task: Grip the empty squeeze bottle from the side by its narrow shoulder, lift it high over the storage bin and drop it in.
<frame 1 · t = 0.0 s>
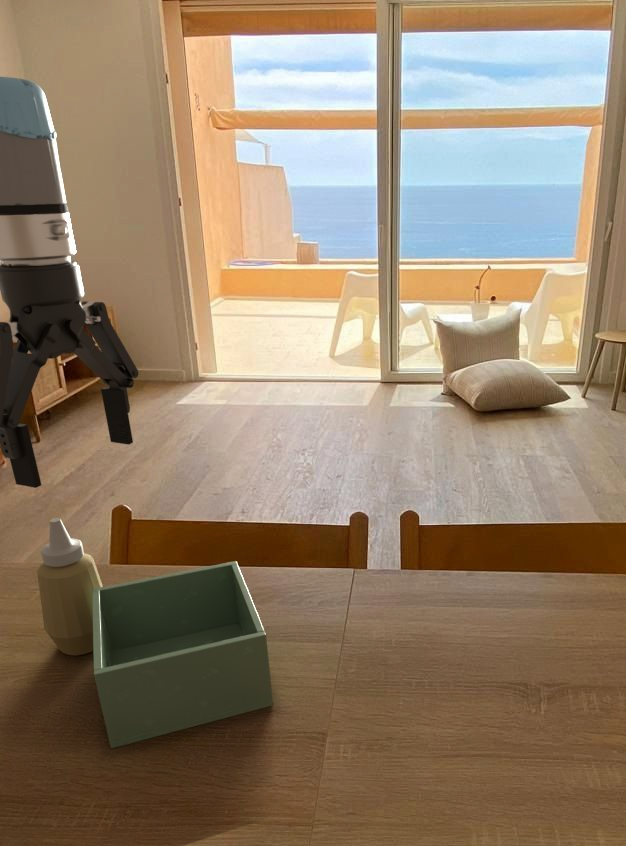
hand: (78, 462, 77), 27 cm above the table, tool pointing down, fingers open, 13 cm apart
squeeze bottle: (84, 644, 91), on the table
storage bin: (185, 678, 84), on the table
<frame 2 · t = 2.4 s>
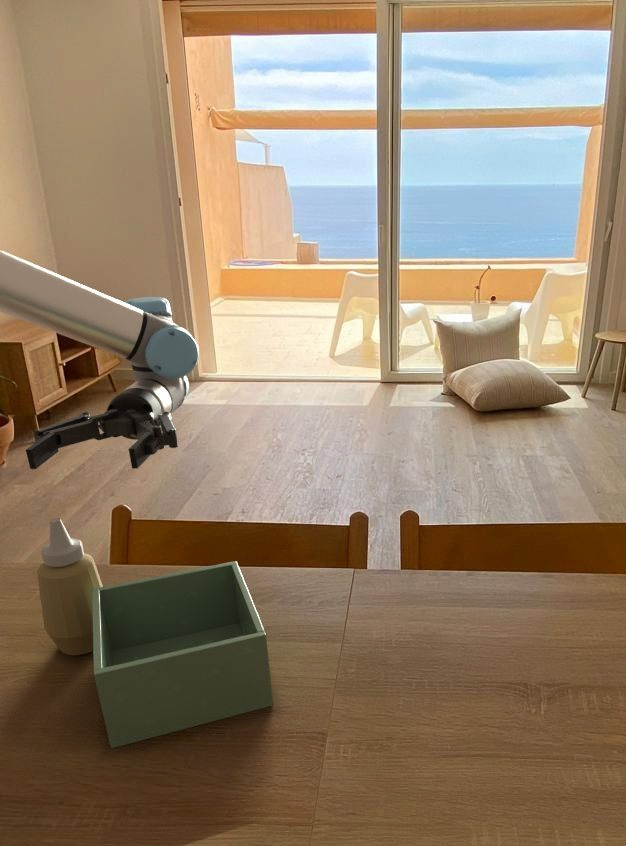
hand: (81, 459, 90), 22 cm above the table, tool horizontal, fingers open, 13 cm apart
nothing on the table moved.
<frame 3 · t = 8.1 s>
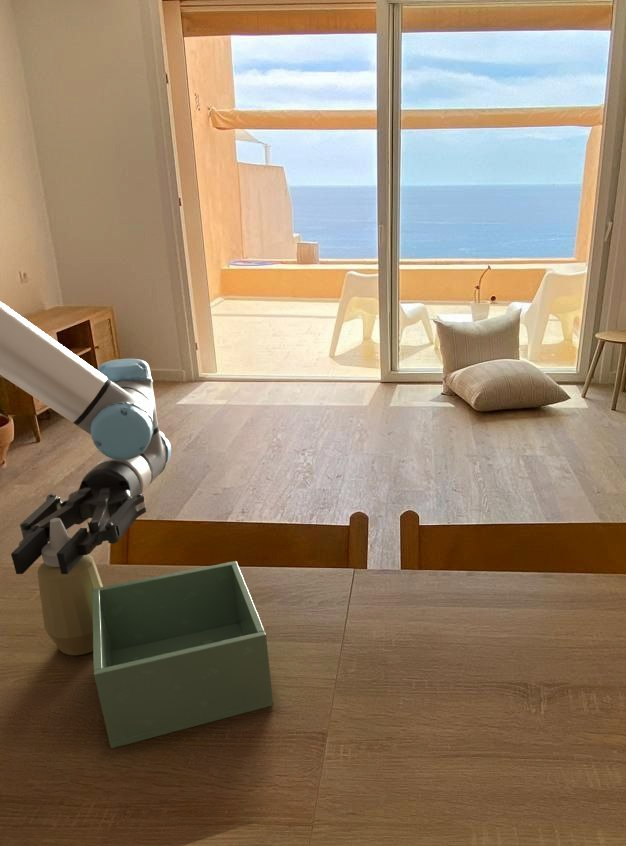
hand: (39, 563, 80), 15 cm above the table, tool horizontal, fingers closed on squeeze bottle, 5 cm apart
squeeze bottle: (84, 644, 91), on the table, touching gripper
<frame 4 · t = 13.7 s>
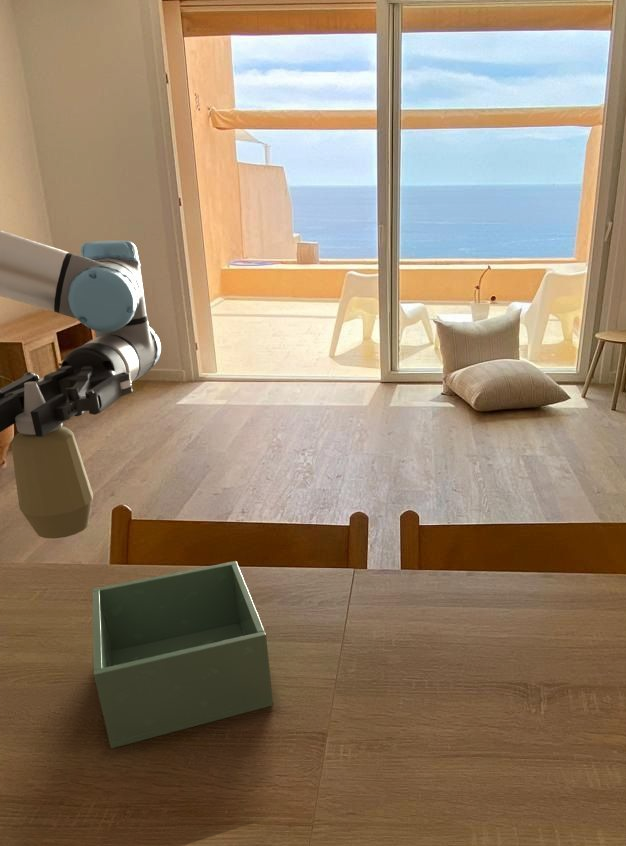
hand: (12, 424, 73), 32 cm above the table, tool horizontal, fingers closed on squeeze bottle, 5 cm apart
squeeze bottle: (63, 530, 84), point 17 cm above the table, touching gripper
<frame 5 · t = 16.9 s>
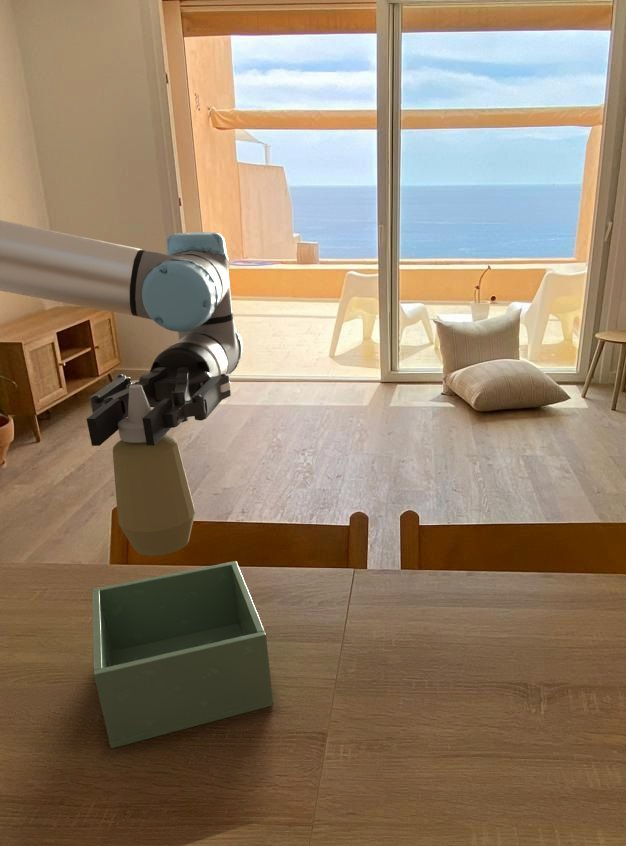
hand: (121, 432, 66), 33 cm above the table, tool horizontal, fingers closed on squeeze bottle, 5 cm apart
squeeze bottle: (162, 546, 77), point 18 cm above the table, touching gripper
when the fingers open (26 cm above the table, at t = 19.6 s): squeeze bottle drops 8 cm, resting on storage bin.
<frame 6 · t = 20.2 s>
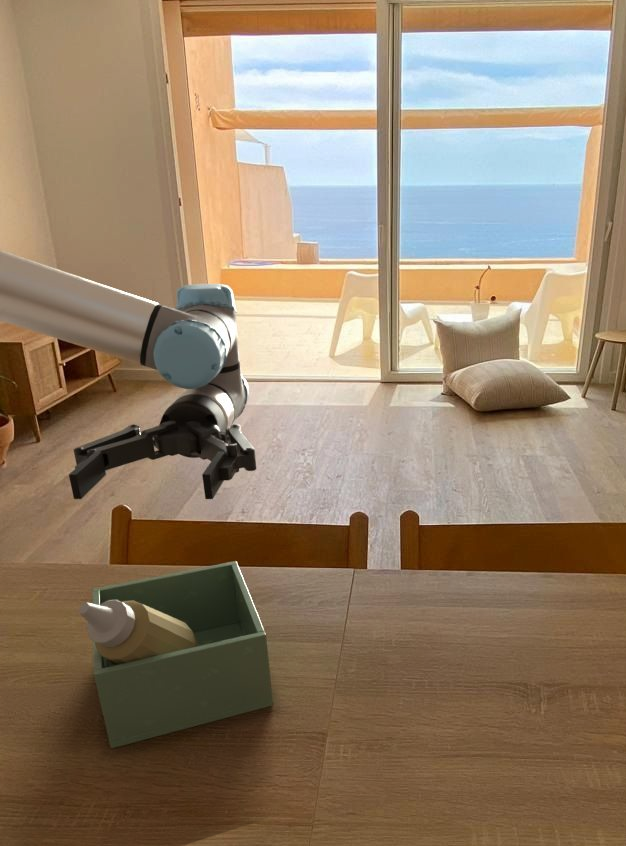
hand: (140, 487, 70), 27 cm above the table, tool horizontal, fingers open, 13 cm apart
squeeze bottle: (180, 662, 83), point 3 cm above the table, touching storage bin
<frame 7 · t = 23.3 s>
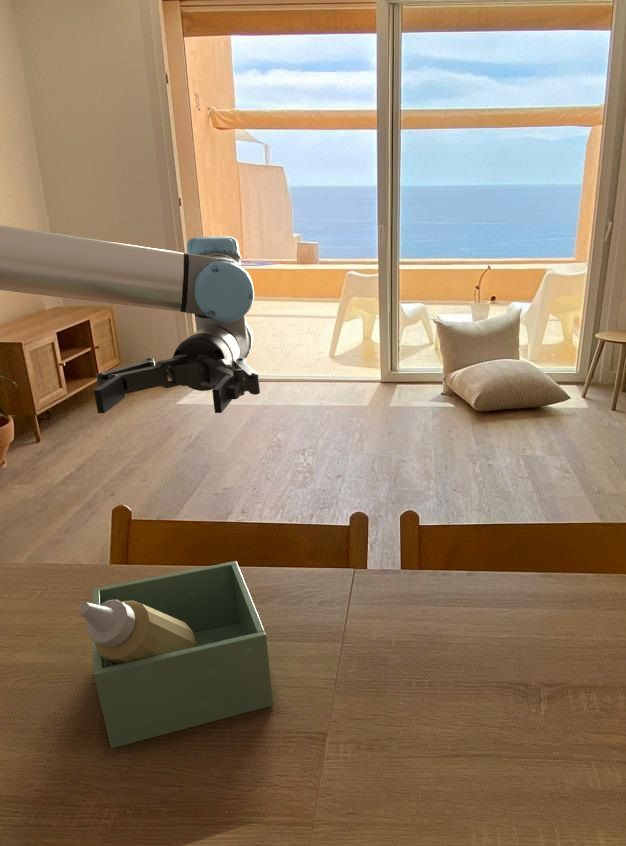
hand: (157, 401, 79), 32 cm above the table, tool horizontal, fingers open, 13 cm apart
nothing on the table moved.
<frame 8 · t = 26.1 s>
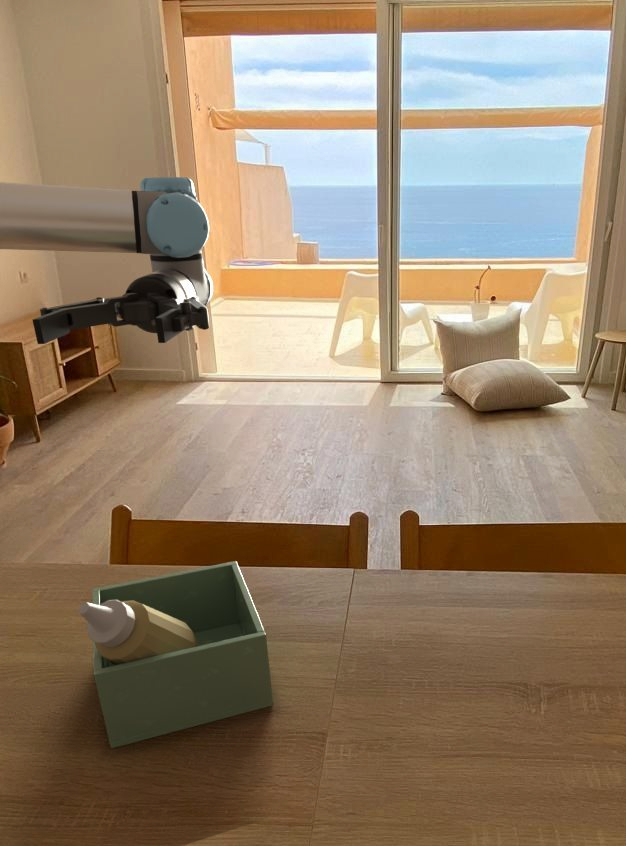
hand: (98, 331, 77), 40 cm above the table, tool horizontal, fingers open, 13 cm apart
nothing on the table moved.
at the end: squeeze bottle inside the target area in the storage bin (0.4 cm from its centre), point 2.7 cm above the storage bin's base; the gripper is holding nothing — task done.
